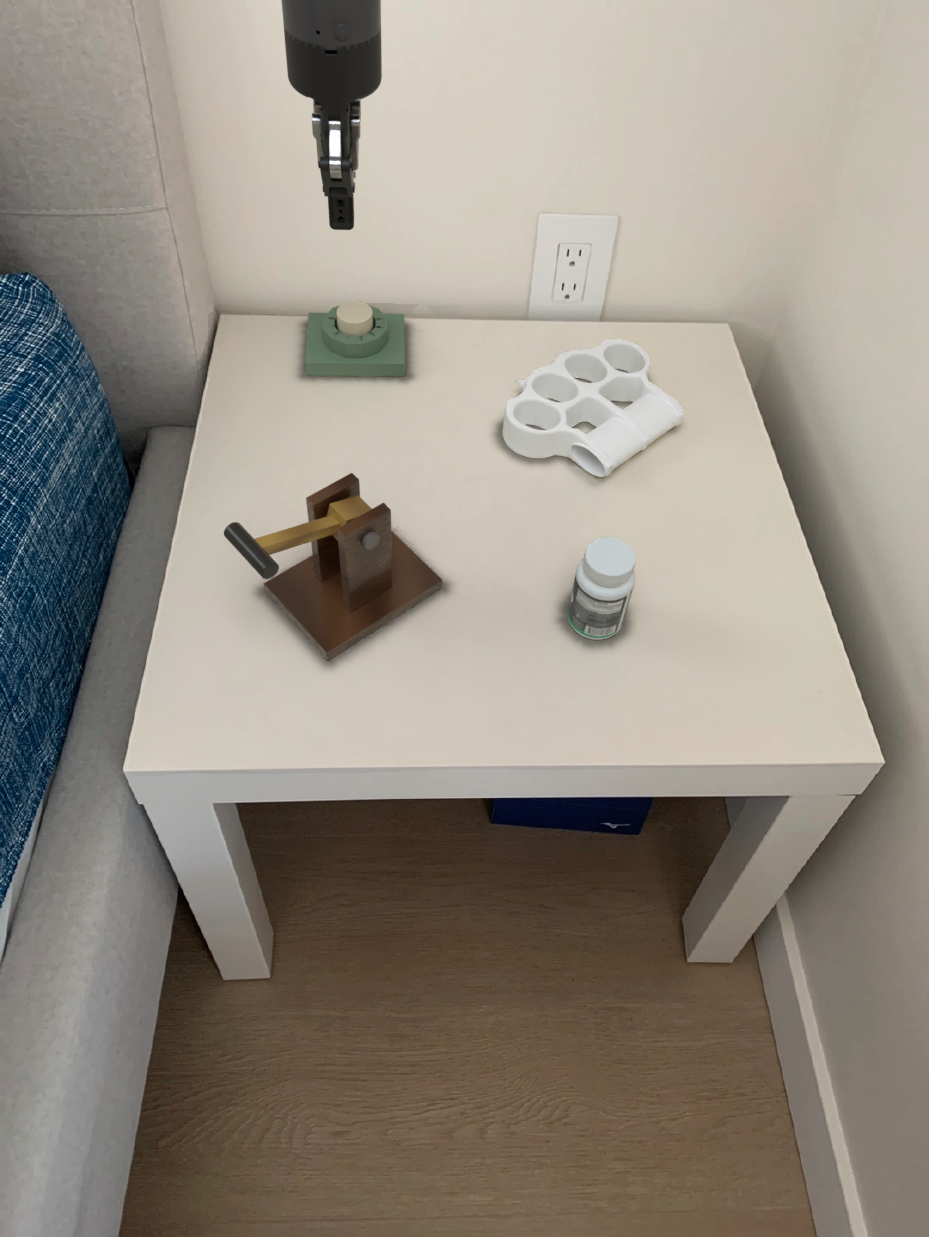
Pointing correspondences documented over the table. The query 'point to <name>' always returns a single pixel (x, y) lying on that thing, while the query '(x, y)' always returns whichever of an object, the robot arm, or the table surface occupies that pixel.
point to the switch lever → (292, 535)
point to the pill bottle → (602, 588)
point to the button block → (355, 347)
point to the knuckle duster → (590, 408)
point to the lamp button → (354, 318)
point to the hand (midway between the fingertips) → (342, 225)
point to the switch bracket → (351, 576)
